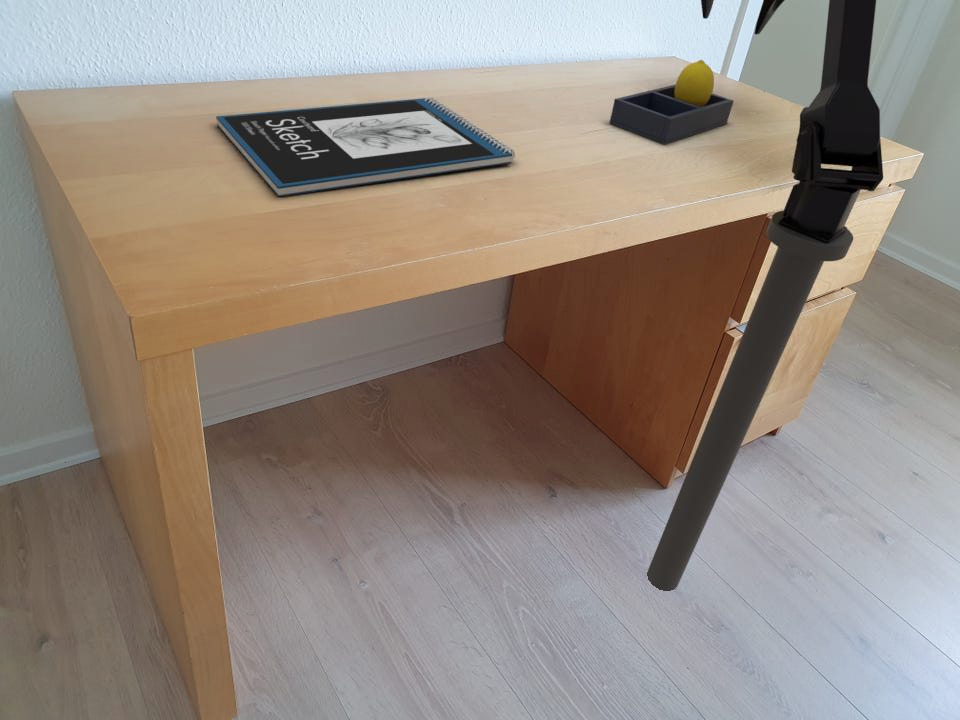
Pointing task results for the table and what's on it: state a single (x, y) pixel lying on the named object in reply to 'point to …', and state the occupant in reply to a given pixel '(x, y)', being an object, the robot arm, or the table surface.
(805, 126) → the robot arm
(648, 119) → the holder
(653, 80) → the table surface
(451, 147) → the sketchbook
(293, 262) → the table surface
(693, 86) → the lemon
